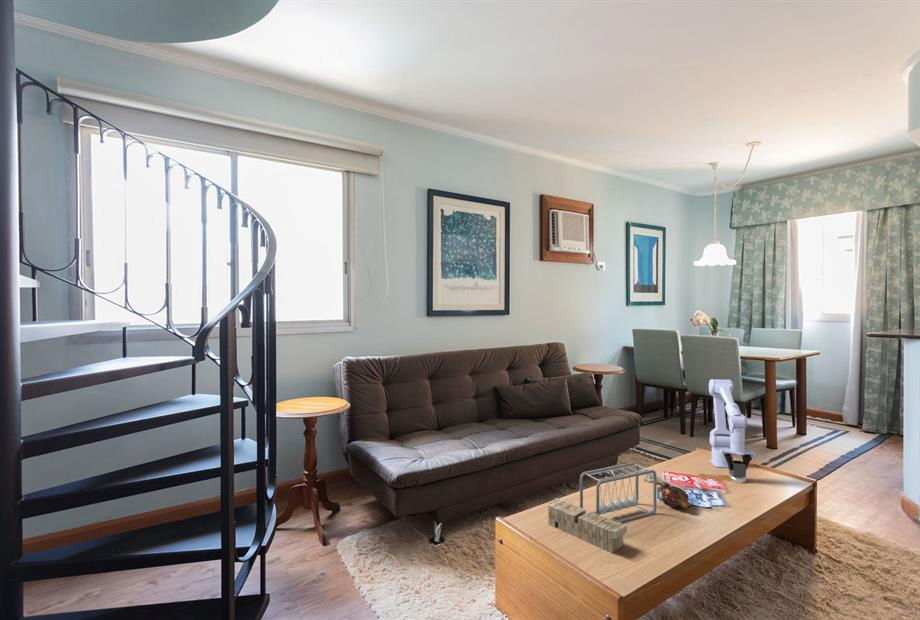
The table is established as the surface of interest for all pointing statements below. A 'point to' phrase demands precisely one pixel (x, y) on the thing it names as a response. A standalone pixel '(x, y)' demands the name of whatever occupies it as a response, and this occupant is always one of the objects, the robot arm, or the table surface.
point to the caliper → (659, 480)
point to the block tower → (586, 525)
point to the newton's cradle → (624, 502)
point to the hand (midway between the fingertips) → (737, 470)
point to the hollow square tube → (738, 469)
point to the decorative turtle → (674, 496)
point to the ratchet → (724, 477)
